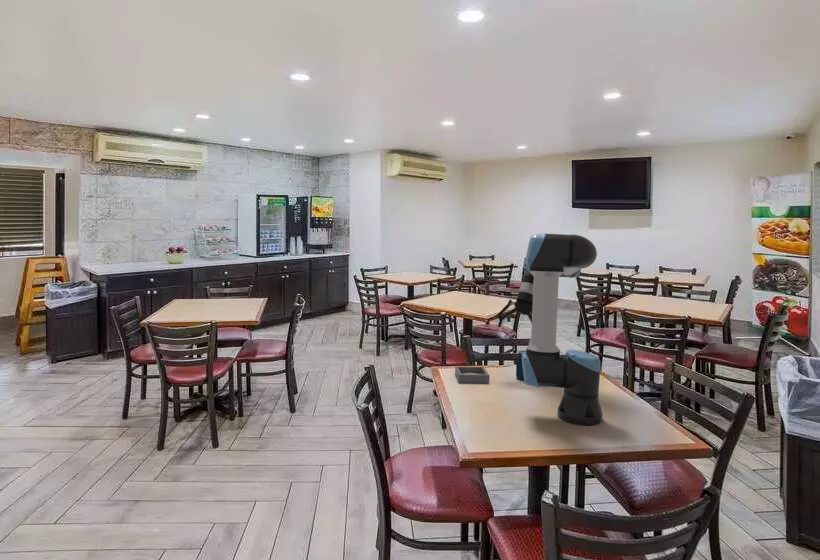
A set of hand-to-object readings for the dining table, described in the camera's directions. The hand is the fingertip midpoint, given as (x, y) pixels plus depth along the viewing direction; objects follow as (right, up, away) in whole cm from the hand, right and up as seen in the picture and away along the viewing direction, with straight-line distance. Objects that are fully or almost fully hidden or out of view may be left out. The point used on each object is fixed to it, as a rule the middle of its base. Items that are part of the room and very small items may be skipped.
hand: (514, 339), depth 218 cm
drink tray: (-18, -17, +3) cm, 25 cm away
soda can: (+5, -18, +5) cm, 19 cm away
